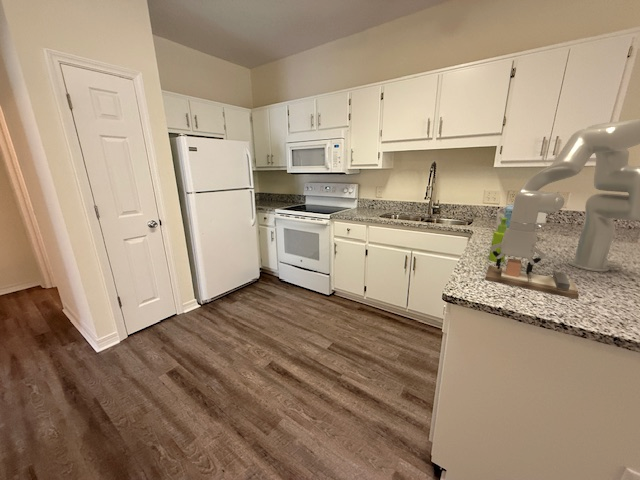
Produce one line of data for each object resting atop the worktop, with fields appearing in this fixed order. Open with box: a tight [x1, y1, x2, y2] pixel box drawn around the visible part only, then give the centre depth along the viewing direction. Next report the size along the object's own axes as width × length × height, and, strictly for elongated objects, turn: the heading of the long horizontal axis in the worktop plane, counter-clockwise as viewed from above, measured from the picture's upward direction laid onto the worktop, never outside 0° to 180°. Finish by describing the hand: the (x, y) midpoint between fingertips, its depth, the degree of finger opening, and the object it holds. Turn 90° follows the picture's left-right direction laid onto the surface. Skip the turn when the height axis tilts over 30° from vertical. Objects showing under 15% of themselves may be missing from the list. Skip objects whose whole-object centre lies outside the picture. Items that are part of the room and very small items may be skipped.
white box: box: [495, 205, 547, 231], centre depth 160 cm, size 20×16×25 cm
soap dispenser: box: [488, 217, 508, 263], centre depth 120 cm, size 6×7×20 cm
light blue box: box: [504, 204, 514, 228], centre depth 135 cm, size 20×5×23 cm, turn 140°
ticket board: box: [485, 265, 580, 300], centre depth 98 cm, size 26×14×4 cm, turn 54°
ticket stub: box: [501, 258, 528, 282], centre depth 100 cm, size 8×10×6 cm
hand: (512, 270), depth 101 cm, fingers open, 8 cm apart
